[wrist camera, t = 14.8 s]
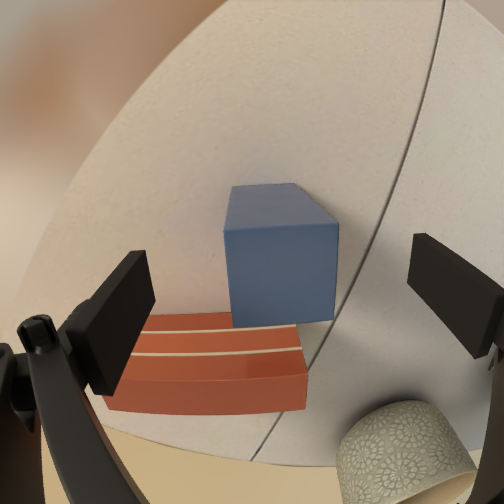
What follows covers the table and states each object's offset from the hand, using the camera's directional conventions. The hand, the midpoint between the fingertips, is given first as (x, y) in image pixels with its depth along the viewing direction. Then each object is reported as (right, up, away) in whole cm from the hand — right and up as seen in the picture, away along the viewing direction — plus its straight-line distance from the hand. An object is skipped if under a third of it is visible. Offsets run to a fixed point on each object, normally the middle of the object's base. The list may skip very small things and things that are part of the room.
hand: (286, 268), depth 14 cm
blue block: (-1, +4, +11) cm, 12 cm away
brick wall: (-6, -7, +15) cm, 17 cm away
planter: (+17, -24, +22) cm, 37 cm away
